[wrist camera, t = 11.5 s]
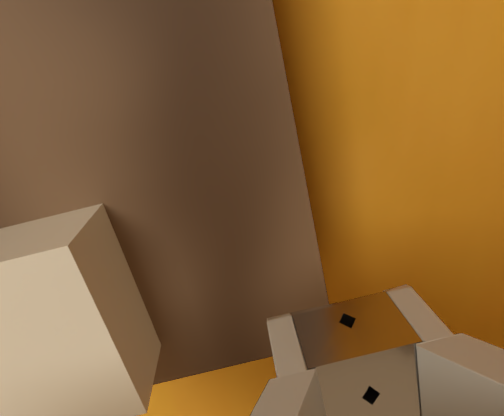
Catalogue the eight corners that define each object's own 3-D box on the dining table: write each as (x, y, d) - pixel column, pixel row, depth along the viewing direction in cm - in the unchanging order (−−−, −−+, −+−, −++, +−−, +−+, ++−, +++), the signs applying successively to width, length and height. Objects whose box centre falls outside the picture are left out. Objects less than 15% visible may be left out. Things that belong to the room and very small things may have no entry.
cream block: (102, 203, 10) (68, 245, 8) (161, 344, 12) (146, 413, 10) (-75, 247, 10) (-162, 301, 8) (10, 381, 12) (-40, 456, 10)
